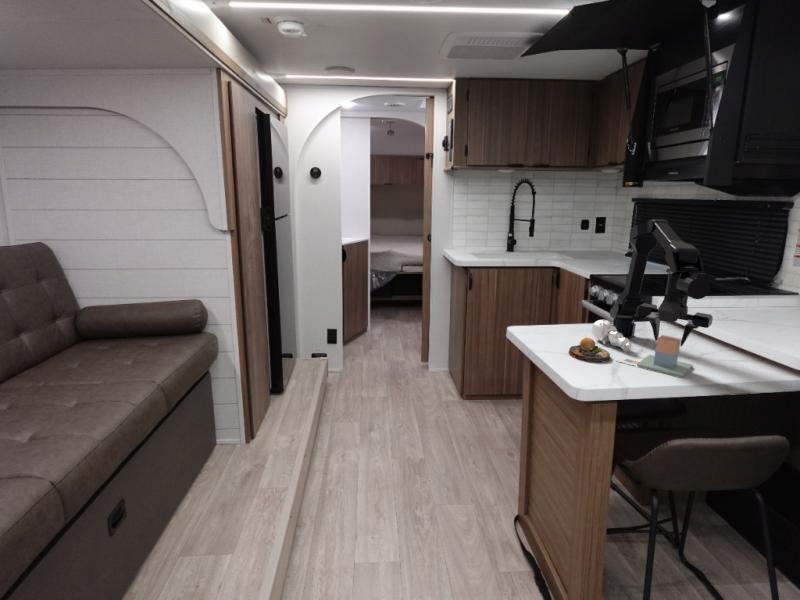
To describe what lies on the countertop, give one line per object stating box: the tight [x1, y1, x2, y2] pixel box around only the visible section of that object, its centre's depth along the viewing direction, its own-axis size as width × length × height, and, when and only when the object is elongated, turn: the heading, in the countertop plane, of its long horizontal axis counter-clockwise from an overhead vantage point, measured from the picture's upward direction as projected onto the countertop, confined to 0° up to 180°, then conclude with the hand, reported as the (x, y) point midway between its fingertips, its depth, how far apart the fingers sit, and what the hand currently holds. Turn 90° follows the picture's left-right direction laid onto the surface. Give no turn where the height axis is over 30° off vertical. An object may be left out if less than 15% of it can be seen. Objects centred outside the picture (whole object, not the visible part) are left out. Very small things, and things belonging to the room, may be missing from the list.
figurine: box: [591, 319, 633, 352], centre depth 164 cm, size 11×7×15 cm
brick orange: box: [655, 334, 682, 356], centre depth 144 cm, size 5×5×4 cm
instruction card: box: [616, 356, 644, 369], centre depth 149 cm, size 8×6×1 cm
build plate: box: [637, 354, 694, 379], centre depth 146 cm, size 12×12×1 cm
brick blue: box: [654, 351, 680, 369], centre depth 145 cm, size 5×5×4 cm
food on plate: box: [568, 334, 611, 364], centre depth 153 cm, size 12×12×8 cm
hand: (668, 343), depth 144 cm, fingers open, 6 cm apart
